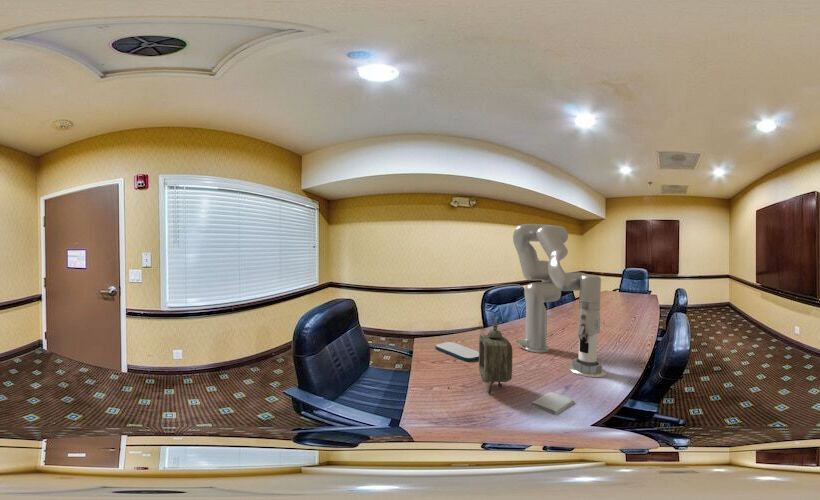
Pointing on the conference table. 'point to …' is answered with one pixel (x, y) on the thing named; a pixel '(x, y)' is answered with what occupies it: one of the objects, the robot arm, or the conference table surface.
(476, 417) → the conference table surface
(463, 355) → the external hard drive
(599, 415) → the conference table surface
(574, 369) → the ring collar
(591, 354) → the can
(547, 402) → the hard drive
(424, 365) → the conference table surface
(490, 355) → the tabletop clock
